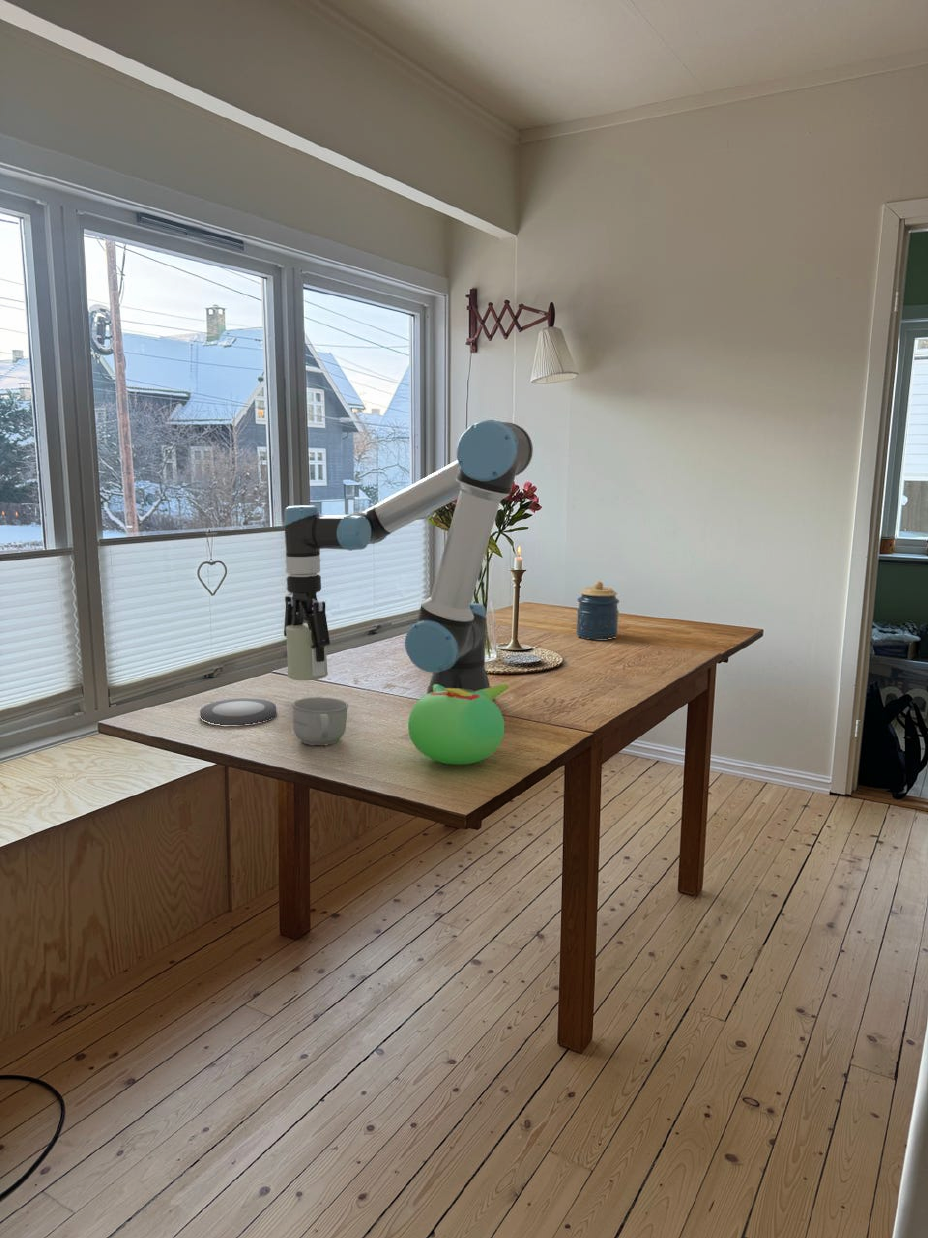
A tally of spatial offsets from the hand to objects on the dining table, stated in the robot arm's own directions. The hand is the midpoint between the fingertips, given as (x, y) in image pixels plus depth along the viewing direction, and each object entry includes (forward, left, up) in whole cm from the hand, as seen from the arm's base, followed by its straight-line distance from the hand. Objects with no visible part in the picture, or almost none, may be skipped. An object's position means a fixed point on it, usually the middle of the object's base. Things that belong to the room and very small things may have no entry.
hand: (307, 671), depth 202 cm
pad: (-2, +18, -7) cm, 19 cm away
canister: (+5, -108, -7) cm, 108 cm away
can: (0, 0, -1) cm, 1 cm away
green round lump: (-53, -1, -7) cm, 53 cm away
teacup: (-29, +14, -7) cm, 33 cm away
